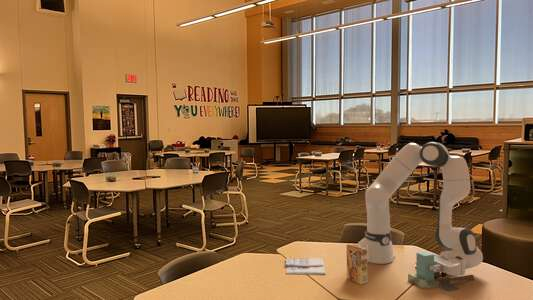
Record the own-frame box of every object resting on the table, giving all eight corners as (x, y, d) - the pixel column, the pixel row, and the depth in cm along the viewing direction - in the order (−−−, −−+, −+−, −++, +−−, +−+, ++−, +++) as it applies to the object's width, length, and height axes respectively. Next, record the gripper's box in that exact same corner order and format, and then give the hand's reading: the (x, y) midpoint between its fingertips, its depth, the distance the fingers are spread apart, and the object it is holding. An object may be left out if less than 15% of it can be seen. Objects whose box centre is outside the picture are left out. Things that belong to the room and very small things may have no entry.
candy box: (368, 282, 176) (367, 247, 175) (361, 285, 174) (360, 249, 173) (353, 276, 184) (352, 243, 183) (346, 278, 181) (346, 244, 180)
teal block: (416, 279, 177) (416, 252, 176) (425, 278, 178) (425, 251, 178) (424, 284, 172) (424, 256, 171) (434, 282, 174) (434, 254, 173)
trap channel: (400, 276, 183) (400, 269, 183) (447, 268, 192) (447, 262, 192) (433, 293, 164) (433, 286, 164) (483, 284, 173) (483, 277, 172)
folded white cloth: (323, 261, 206) (323, 257, 206) (325, 276, 186) (325, 271, 186) (285, 261, 208) (285, 256, 208) (283, 275, 188) (283, 271, 188)
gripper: (432, 247, 189) (407, 251, 184) (467, 261, 169) (441, 265, 165) (432, 260, 189) (407, 264, 184) (467, 276, 170) (440, 280, 165)
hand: (423, 265), depth 174 cm, fingers closed on teal block, 5 cm apart
